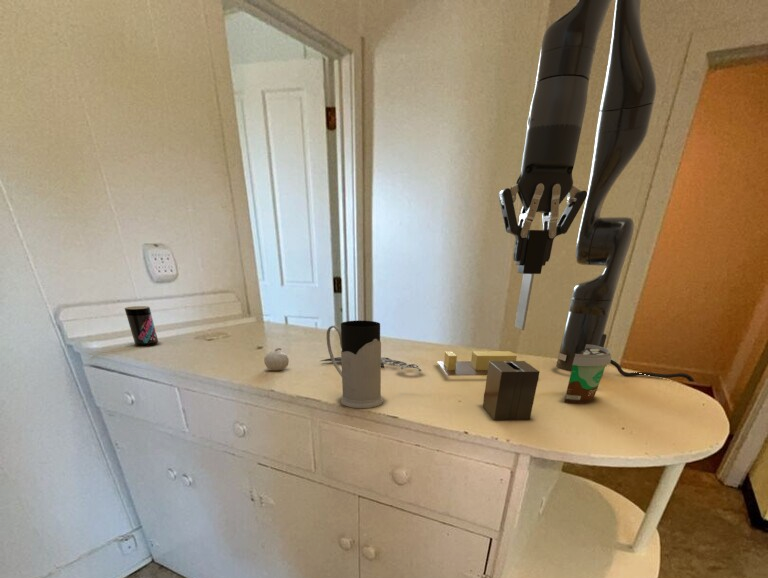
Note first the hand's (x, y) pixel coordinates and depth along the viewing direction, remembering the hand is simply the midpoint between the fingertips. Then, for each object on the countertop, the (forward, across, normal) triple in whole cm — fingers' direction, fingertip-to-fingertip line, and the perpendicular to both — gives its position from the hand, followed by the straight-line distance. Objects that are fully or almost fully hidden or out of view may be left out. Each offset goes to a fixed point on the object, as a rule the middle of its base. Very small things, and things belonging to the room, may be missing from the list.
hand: (530, 264), depth 70 cm
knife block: (+25, 0, 0) cm, 25 cm away
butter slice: (+24, -5, +30) cm, 39 cm away
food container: (+26, +20, +8) cm, 33 cm away
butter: (+24, +6, +30) cm, 39 cm away
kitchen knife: (+10, 0, 0) cm, 10 cm away
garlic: (+26, -49, +34) cm, 65 cm away
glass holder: (+26, -30, +10) cm, 41 cm away
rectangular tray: (+25, +4, +30) cm, 39 cm away
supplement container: (+26, -93, +65) cm, 116 cm away
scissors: (+26, -24, +36) cm, 50 cm away
